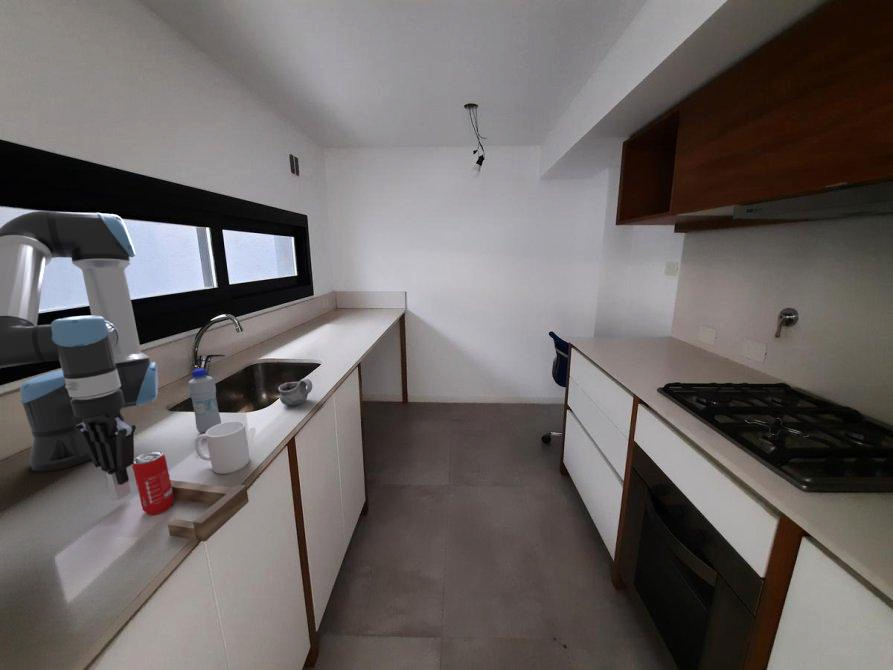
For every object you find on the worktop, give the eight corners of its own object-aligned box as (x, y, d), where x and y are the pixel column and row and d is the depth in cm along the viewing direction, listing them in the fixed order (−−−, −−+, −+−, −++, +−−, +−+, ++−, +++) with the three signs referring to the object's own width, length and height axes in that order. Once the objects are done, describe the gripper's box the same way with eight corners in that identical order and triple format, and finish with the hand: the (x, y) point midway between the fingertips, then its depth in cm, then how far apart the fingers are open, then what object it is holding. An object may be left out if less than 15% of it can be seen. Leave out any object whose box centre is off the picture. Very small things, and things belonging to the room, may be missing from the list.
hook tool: (117, 527, 70) (113, 509, 69) (170, 491, 80) (166, 475, 79) (205, 541, 66) (201, 523, 65) (248, 501, 76) (246, 485, 75)
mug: (290, 398, 133) (287, 372, 130) (321, 399, 131) (319, 373, 129) (274, 409, 123) (271, 381, 121) (308, 410, 121) (305, 382, 119)
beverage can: (157, 518, 72) (145, 465, 69) (137, 515, 73) (124, 462, 70) (181, 501, 77) (170, 451, 74) (161, 498, 78) (150, 449, 75)
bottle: (191, 434, 106) (179, 371, 102) (213, 424, 112) (202, 364, 108) (206, 438, 104) (194, 373, 99) (228, 428, 110) (217, 366, 105)
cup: (240, 473, 86) (234, 435, 84) (189, 476, 85) (181, 438, 83) (255, 455, 94) (250, 420, 92) (208, 457, 93) (202, 422, 91)
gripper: (48, 398, 69) (78, 504, 74) (100, 402, 66) (127, 511, 71) (92, 384, 76) (117, 482, 81) (141, 388, 73) (163, 488, 78)
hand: (122, 495), depth 76 cm, fingers closed
